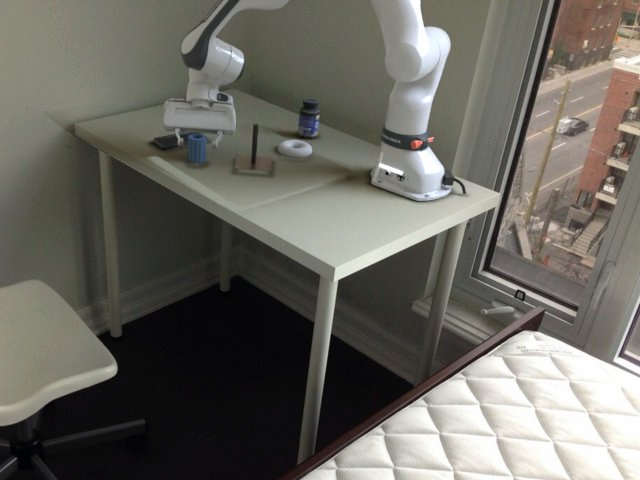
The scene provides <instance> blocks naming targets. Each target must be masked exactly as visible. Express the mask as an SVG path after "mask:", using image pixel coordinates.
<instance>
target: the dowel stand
mask: <svg viewBox="0 0 640 480" xmlns="http://www.w3.org/2000/svg"><path fill="white" fill-rule="evenodd" d="M251 138H252V139H251V154H250V155H245V154H236V157H235V161H234V169H235V170H246V171H248V170H249V171H262V172H272V165H273V164H272V163H273V156H264V155H263V156H262V155H261V156H260V155H257V154H258V138H259V123H253V124H252V137H251Z"/></svg>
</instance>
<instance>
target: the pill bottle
mask: <svg viewBox="0 0 640 480" xmlns="http://www.w3.org/2000/svg"><path fill="white" fill-rule="evenodd" d="M319 102H320V101H319V100H318V99H316V98H311V97H309V98H304V99H303V100H302V106H301V107H300V109H299V117H298V126H297V127H298V128H297V135H298V137H300V138H302V139H307V140H313V139H316V138H317V137H318V133H319V123H320V114H321V113H320V112H321V110H320V109H319V107H318V106H319Z"/></svg>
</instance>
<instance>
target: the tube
mask: <svg viewBox="0 0 640 480" xmlns="http://www.w3.org/2000/svg"><path fill="white" fill-rule="evenodd" d="M206 137H207V135H206V134H204V133H201V134H198V133H195V134H191V135H189V136H188V145H187V160H188V161H189V162H190V163H198V164H200V163H204V162H205V161H206V160H207V159H206V158H207V141H206Z"/></svg>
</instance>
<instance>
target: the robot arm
mask: <svg viewBox="0 0 640 480" xmlns="http://www.w3.org/2000/svg"><path fill="white" fill-rule="evenodd" d="M289 2H290V0H217V2H216V3H215V4H214V5H213V6H212V7H211V9H209V11H208V12H207V13H206V14H205V15H204V17H203V18H202V19H201V21H200V22H199V23H198V24H197V25H195V27H194V28H193V29H191V30H190V31H188V33H187V34H186V35H185V36H184V38H183V39H182V42H181V44H180V50H179V51H180V56H181V60H182V61H183V64H184V65H185V67H187V68H188V78H189V81H188V83H187V87H186V98H175V97H171V98H169V99H166V101H164V102H163V103H164V104H163V112H164V114H163V118H162V128H163V129H164V131H166V132H174V134H175V135H176V137H177V139H178V146H182V147H185V146H184V139H183V138H180V136H179V135H181V133H182V132H190V133H201V134H204V135H206V134H207V135H217V137H216V138H215V139H214V140H213V139H212V142H211V149H213V150H215V149H216V150H217V149H219V144H220V143H221V141H222V140H223V137H224V136H234V135H235V134H236V133H237V118H236V109H235V108H234V98H233V96H232V95H230V94H228V93H225V92H221V91H220V89H219V88H220V87H221V86H228V85H231V84H233V83H235V82H237V81H239V80H240V79H241V78H242V77H243V75H244V72H245V68H246V56H245V54H244V52H243V51H242V50H240V49H239V48H237V47H236V46H234V45H232V44H230V43H228V42H226V41H223V40H222V39H220V38H217V36H218V34H219V33H220V32H221V31H222V30H223V29H224V27H225V26H226V25H227V24H228V23H229V21H230V20H231V19H232V18H233V17H234V16H235V15H236V14H237V13H239V12H241V11H247V10H258V11H264V12H265V11H267V12H268V11H276V10H279V9H282V8H283V7H285V6H287V3H289ZM369 2H370V5H371V7H372V10H373V12H374V14H375V16H376V19H377V21H378V25H379V28H380V32H381V36H382V42H383V47H384V51H385V52H384V53H385V54H384V55H385V56H384V67H385V68H384V69H385V71H386V73H387V74H388V76H389V77H390V78H391V79H392V80H394V81H395V83H394V86H393V88H392V90H391V92H390V94H389V97H388V102H387V107H386V115H385V121H384V124H383V125H382V129H381V133H380V140H381V143H380V145H379V146H380V147H379V149H378V154H377V157H376V160H375V163H374V165H373V167H372V170H371V172H370V177H371V182H370V184H371V185H372V186H375V187H378V188H381V189H384V190H385V191H388V192H392V193H394V194H397V195H400V196H402V197H406V198H408V199H411V200H413V201H416V202H428V201H435V200H438V199H441V198H444V197H447V196H448V195H449V194H450V193H451V191H452V186H454V183H455V182H456V184H459V186H460V187H461V190H462V195H465V194H467V191H466V189H467V188H466V187H465V184H464V183H463V182H462V181H461V180H459V179H458V178H456V177H455V176H454V175H453V172H452V171H451V170H450V169H445V167H444V165H443V164H442V163H441V162H440V160H439V159H438V157H437V156H436V154H435V153H434V152H433V150H432V149H431V147H430V145H431V144H430V143H432V142H434V140H433V139H434V138H435V136H432V137H429V131H428V126H429V125H428V124H429V120H430V114H431V110H432V105H433V101H434V97H435V95H436V92H437V89H438V86H439V83H440V81H441V78H442V75H443V71H444V68H445V65H446V62H447V58H448V56H449V54H450V51H451V47H452V44H451V43H452V42H451V39H450V36H449V35H448V33H447V32H446V31H445V30H444V29H442V28H440V27H437V26H425V25H424V20H423V16H422V9H421V0H369Z"/></svg>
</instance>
